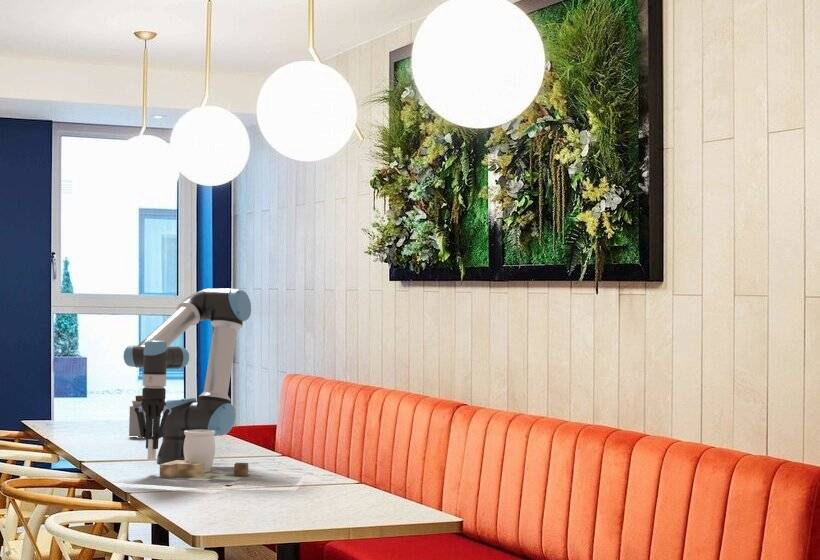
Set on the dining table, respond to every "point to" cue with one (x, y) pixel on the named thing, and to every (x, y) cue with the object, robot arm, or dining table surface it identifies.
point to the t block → (182, 469)
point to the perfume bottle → (135, 417)
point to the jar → (200, 447)
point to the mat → (209, 478)
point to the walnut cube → (240, 469)
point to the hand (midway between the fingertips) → (151, 458)
